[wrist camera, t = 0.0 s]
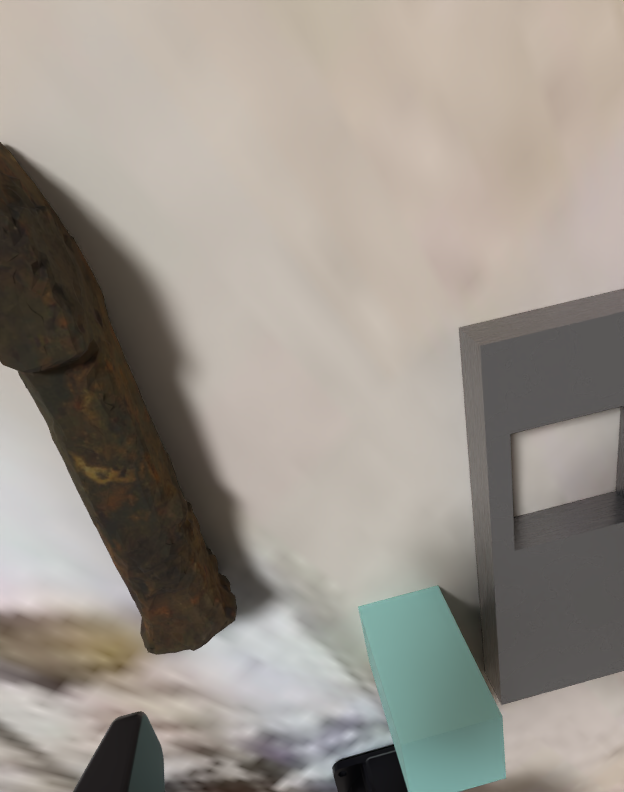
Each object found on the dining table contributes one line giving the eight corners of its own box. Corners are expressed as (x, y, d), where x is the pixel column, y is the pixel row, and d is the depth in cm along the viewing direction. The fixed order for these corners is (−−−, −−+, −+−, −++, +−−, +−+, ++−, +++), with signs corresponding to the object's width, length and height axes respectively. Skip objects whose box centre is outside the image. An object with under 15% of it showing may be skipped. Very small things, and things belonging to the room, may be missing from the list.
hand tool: (236, 574, 27) (242, 657, 23) (148, 597, 27) (138, 686, 22) (88, 119, 18) (55, 120, 14) (-43, 146, 18) (-116, 155, 14)
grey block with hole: (624, 633, 32) (648, 663, 31) (485, 671, 32) (501, 704, 30) (652, 282, 23) (688, 295, 22) (459, 327, 23) (480, 345, 21)
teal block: (444, 642, 31) (505, 778, 24) (369, 662, 30) (412, 805, 24) (437, 585, 29) (502, 716, 22) (358, 606, 28) (400, 744, 22)
